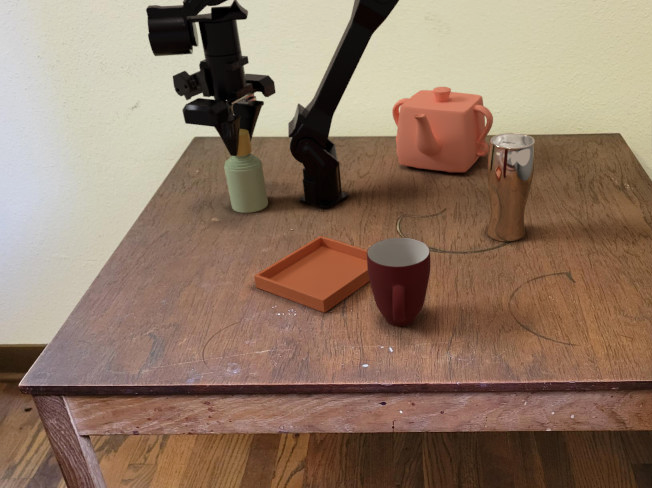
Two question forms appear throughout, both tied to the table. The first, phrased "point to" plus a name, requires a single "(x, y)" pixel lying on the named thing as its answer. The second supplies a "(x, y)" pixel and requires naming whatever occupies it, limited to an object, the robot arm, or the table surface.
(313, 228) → the table surface
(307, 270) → the tray
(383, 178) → the table surface
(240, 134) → the bottle cap
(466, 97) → the teapot
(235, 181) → the bottle
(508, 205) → the beer glass
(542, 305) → the table surface
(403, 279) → the mug
